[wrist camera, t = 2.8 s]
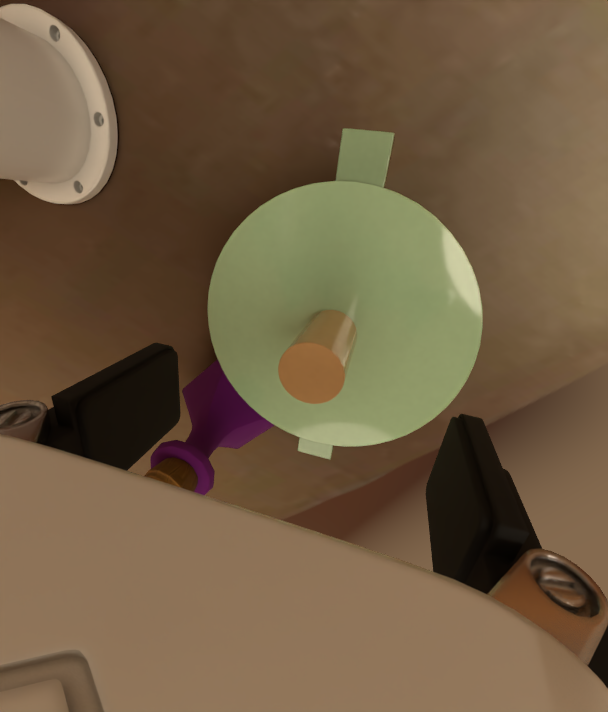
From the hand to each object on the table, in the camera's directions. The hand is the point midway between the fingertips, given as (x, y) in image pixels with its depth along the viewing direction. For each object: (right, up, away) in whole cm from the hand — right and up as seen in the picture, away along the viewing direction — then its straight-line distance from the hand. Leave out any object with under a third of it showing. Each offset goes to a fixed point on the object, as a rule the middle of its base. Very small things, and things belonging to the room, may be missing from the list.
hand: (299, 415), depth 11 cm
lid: (+2, +3, +7) cm, 8 cm away
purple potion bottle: (-5, -1, +21) cm, 21 cm away
